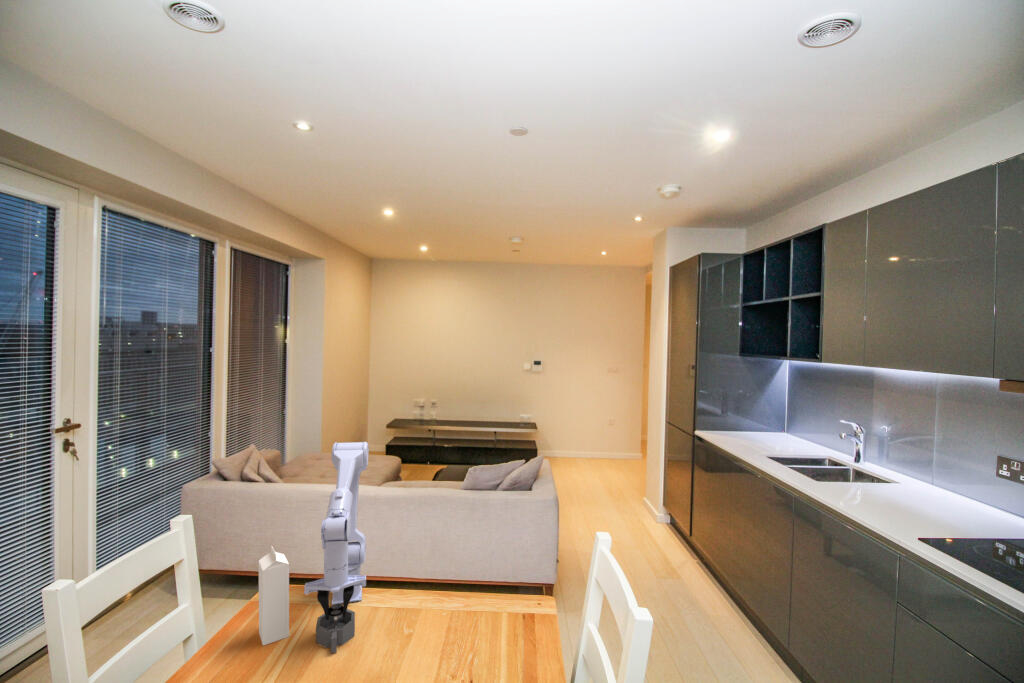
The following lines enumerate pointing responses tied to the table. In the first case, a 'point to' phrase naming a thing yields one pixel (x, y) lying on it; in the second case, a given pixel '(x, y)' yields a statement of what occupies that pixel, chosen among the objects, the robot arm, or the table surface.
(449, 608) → the table surface
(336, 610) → the plunger
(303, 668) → the table surface
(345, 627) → the grey jug
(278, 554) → the milk
